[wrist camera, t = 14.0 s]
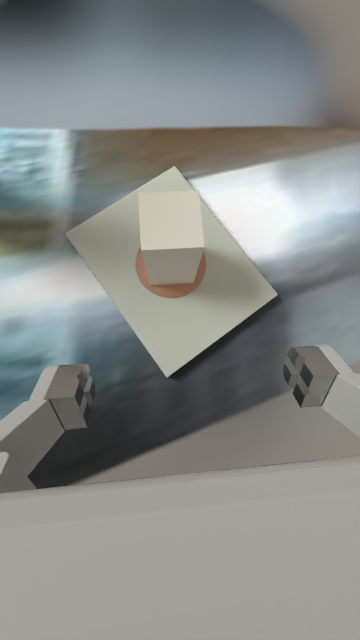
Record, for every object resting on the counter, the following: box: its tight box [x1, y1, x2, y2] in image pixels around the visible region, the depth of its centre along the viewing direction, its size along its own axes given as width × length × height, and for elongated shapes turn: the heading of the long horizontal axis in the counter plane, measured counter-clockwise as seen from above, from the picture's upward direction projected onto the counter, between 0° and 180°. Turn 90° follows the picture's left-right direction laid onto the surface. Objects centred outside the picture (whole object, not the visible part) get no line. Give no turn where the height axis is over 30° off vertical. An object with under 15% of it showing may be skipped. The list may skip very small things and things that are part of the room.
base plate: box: [65, 166, 278, 377], centre depth 24 cm, size 18×14×6 cm
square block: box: [138, 190, 204, 285], centre depth 22 cm, size 4×4×8 cm
